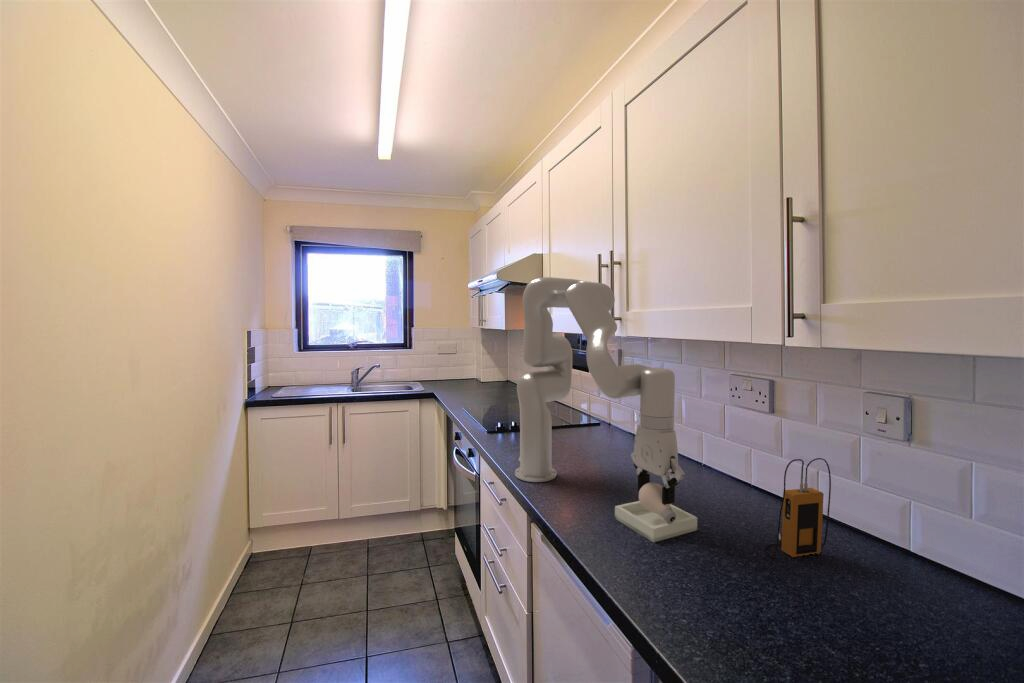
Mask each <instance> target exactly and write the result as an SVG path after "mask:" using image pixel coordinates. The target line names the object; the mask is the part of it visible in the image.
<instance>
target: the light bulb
mask: <svg viewBox="0 0 1024 683" xmlns="http://www.w3.org/2000/svg"><path fill="white" fill-rule="evenodd" d="M663 487H664V486H662V485H661V484H659V483H657V482H650V483H647V484H645V485H643V486H642V487H641V489H640V491H639V492H638V501H640V503H641V505H642V506H643V507H644V508H645V509H646V510H648V511H651V512H654V513H656V514H658V515H659V516H660V517H663V518H664V519H665V521H666V522H668V523H670V522H673V521H674V520H675V519H676V513H675V512H674V511H673V510H672V507H671V506H670V504H666V505H664V504H662V488H663Z"/></svg>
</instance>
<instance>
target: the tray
mask: <svg viewBox="0 0 1024 683" xmlns="http://www.w3.org/2000/svg"><path fill="white" fill-rule="evenodd" d="M670 506H671V507H672V510H673V511H674V512H675V513H676V519H675V520H674V521H673V522H670V523H668V522H666V521H665V519H664V518H663V517H660V516H659V515H658V514H656V513H654V512H651V511H648V510H646V509H645V508H644V507H643V506H642V505H641V503H640V501H639V500H637V501H633V502H628V503H627V502H626V503H622V504H619V505H615V506H614V519H615V520H617V521H618V522H620V523H621V524H623V525H625V526H626V527H628V528H629V529H631V530H632V531H634V532H636V533H637V534H639V535H640V536H642V537H644V538H645V539H647V540H649V541H650V542H651V543H657V542H660V541H664V540H668V539H671V538H675V537H679V536H682V535H685V534H688V533H689V534H690V533H692V532H696V531H698V516H695V515H694V514H691V513H689V512H687V511H685V510H684V509H681V508H680V507H678V506H675V505H674V504H673V503H671V504H670Z"/></svg>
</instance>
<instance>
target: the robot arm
mask: <svg viewBox="0 0 1024 683" xmlns="http://www.w3.org/2000/svg"><path fill="white" fill-rule="evenodd" d="M615 297H616V296H615V294H614V292H613V289H612V288H611V287H610V286H609V285H607V283H603V282H592V281H587V280H581V279H575V278H561V277H548V276H546V277H538V278H535V279H533V280H530V282H529V283H528V284H527V285H526V287H525V288H524V291H523V293H522V311H523V317H524V318H523V319H524V320H523V321H524V323H523V325H524V326H523V344H522V345H523V350H522V352H523V353H522V354H523V361H524V363H525V364H526V365H527V366H528V367H530V368H531V367H532V368H547V370H539V371H537V370H536V371H530V372H527V373H525V374H523V375H521V376H520V378H518V380H517V384H516V394H517V399H518V404H519V423H520V424H519V425H520V427H519V432H520V433H519V444H520V445H519V457H518V458H517V460H518V462H519V467H517V468H516V469H515V471H514V475H515V477H516V478H517V479H518V480H521V481H524V482H528V483H544V482H545V483H546V482H549V481H552V480H554V479H556V477H557V470H556V469H555V468H553V467H552V454H553V453H552V450H553V449H552V446H553V445H552V439H553V438H552V435H553V433H552V432H553V430H552V427H553V425H552V422H553V420H552V414H551V411H550V409H549V407H548V405H547V403H549V402H555V401H560V400H563V399H566V398H567V397H568V395H569V393H570V391H571V386H572V374H573V373H572V372H573V371H572V370H573V348H572V345H571V343H570V341H569V340H568V339H567V338H566V337H565V336H563V335H560V334H553V328H554V327H553V326H554V323H553V322H554V321H553V318H552V314H551V312H550V311H549V309H550V308H562V309H563V308H565V309H566V308H567V309H569V311H570V312H571V314H572V316H573V318H574V319H575V322H576V323H577V325H578V326H579V328H580V330H581V332H582V333H583V335H584V337H585V339H586V342H587V344H586V348H585V349H586V350H585V351H586V352H585V357H586V358H585V359H586V366H587V369H588V371H589V373H590V375H591V377H592V378H593V381H594V383H595V384H596V385H597V387H598V388H599V390H600V391H601V392H602V394H603V395H605V396H606V397H608V398H610V399H613V400H614V399H615V400H616V399H622V398H628V397H635V396H639V397H640V398H639V402H640V403H639V406H640V407H639V415H638V416H639V424H637V428H636V430H635V437H634V447H633V452H631V453H630V458H631V460H632V463H633V466H634V468H635V474H636V475H637V492H638V493H639V491H640V489H641V487H642V486H643V485H645V484H647V483H651V482H650V481H651V480H650V479H651V478H650V477H651V476H650V473H651V474H653V475H655V476H658V477H661V479H662V482H663V485H664V486H662V487H663V488H662V504H664V505H666V504H674V503H675V499H676V498H675V496H676V494H675V493H676V487H677V486H678V485H679V484H680V483H681V482H682V480H683V479H684V478H685V476H686V473H685V471H684V469H682V468H681V465H679V453H678V452H679V451H678V450H679V449H678V441H677V435H676V430H675V392H676V391H675V388H676V386H675V385H676V384H675V383H676V379H675V378H676V377H675V373H674V372H673V370H672V369H669V368H663V367H662V368H661V367H650V366H646V365H644V364H643V365H642V364H626V365H625V364H624V365H617V364H616V363H615V361H614V359H613V358H612V355H611V353H610V352H609V348H608V340H610V339H611V338H612V337H614V335H615V333H617V330H618V324H617V322H616V320H615V318H613V315H612V314H611V313H610V311H611V310H612V309H613V307H614V305H615V302H616V301H615V300H616V299H615ZM668 477H669V478H668Z"/></svg>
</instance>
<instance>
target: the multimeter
mask: <svg viewBox="0 0 1024 683" xmlns="http://www.w3.org/2000/svg"><path fill="white" fill-rule="evenodd" d="M817 460H822V461H824V462H825V463H826V466H827V470H828V478H829V479H828V481H829V484H828V488H829V491H828V505H827V514H826V515H827V518H826V527H825V533H824V534H825V535H824V541H823V543H822V536H823V535H822V534H823V516H824V515H823V514H824V497H825V496H824V492H822V491H819V490H818V489H815V488H813V487H808V468H809V466H810V465H811V464H812V463H813V462H814V461H817ZM797 461H800V462H801V470H800V471H801V474H800V475H801V476H800V483H799V488H794V489H786V479H787V478H786V477H787V471H788V469H789V466H790V465H791V464H792V463H793V462H797ZM804 465H805V461H804V460H803V459H802V458H801V459H800V458H799V459H798V458H797V459H796V458H795V459H793V460H791V461H789V462H788V463H787V465H786V467H785V471H784V477H783V492H782V494H783V495H782V499H781V500H782V502H781V506H780V511H779V515H778V518H779V519H778V526H777V529H778V530H777V538H776V543H772V544H771V543H770V544H768V545H765V547H764V551H765V554H766V555H769V557H770V558H771V559H775V557H776V554H777V550H778V547H779V546H781V551H782V552H783V553H785V554H786V555H788V556H789V555H790V557H792V558H793V557H796V558H797V556H798V557H802V556H803V555H805V556H810V555H809V554H813V555H815V554H814V553H820V552H822V545H821V544H823V545H824V546H825V545H826V542H827V536H828V528H829V527H828V526H829V518H830V505H831V493H832V492H831V491H832V484H831V483H832V479H831V476H832V475H831V470H830V464H828V461H827V460H826V459H824V458H821V457H818V458H814V459H812V460H810V461H809V462H808V464H807V465H806V467H805V477H804ZM781 519H782V520H781ZM781 523H782V524H781ZM780 525H782V526H780ZM780 528H781V532H780V533H779V531H780ZM771 546H775V550H774V552H773V556H771V554H769V552H768V551H767V550H766V549H767V548H769V547H771ZM820 554H821V553H820ZM803 557H804V556H803Z"/></svg>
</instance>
